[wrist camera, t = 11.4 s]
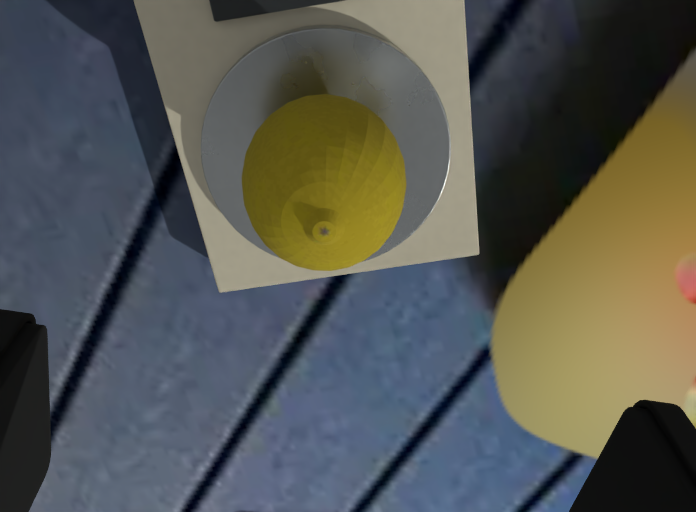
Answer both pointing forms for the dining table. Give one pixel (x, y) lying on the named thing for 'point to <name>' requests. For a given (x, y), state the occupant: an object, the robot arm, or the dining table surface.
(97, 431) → the dining table surface
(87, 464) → the dining table surface
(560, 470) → the dining table surface
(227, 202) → the scale
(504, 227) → the dining table surface
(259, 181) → the lemon
